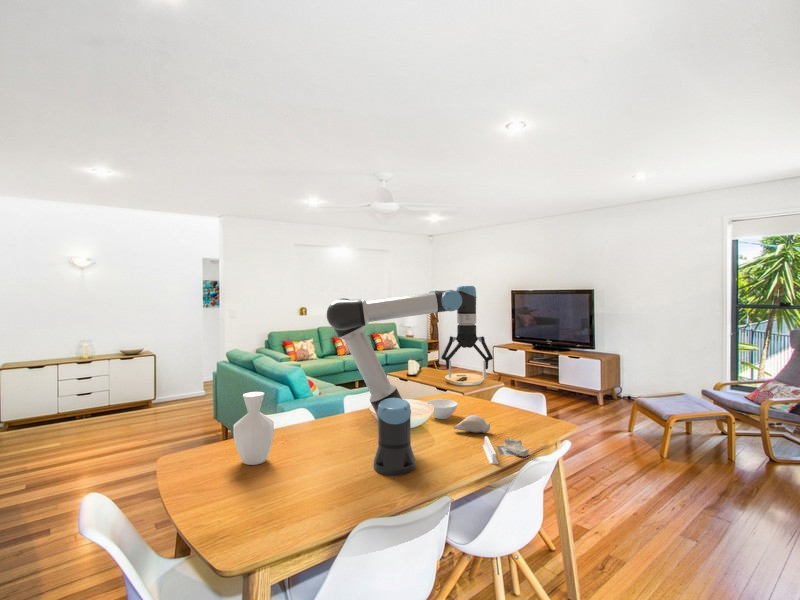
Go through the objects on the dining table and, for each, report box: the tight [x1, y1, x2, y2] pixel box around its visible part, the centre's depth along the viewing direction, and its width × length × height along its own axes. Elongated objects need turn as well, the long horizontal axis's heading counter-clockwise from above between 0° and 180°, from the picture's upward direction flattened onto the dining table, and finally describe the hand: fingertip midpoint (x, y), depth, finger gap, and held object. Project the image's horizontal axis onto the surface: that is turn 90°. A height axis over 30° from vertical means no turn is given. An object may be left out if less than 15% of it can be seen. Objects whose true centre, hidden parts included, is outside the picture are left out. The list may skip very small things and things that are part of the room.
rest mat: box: [496, 445, 520, 457], centre depth 154 cm, size 12×12×1 cm
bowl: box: [425, 398, 459, 420], centre depth 201 cm, size 16×16×7 cm
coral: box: [502, 437, 530, 458], centre depth 153 cm, size 6×10×4 cm, turn 49°
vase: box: [232, 391, 275, 466], centre depth 148 cm, size 14×14×25 cm
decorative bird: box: [453, 414, 491, 434], centre depth 177 cm, size 9×16×8 cm, turn 79°
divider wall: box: [482, 436, 499, 465], centre depth 152 cm, size 3×18×4 cm, turn 177°
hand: (466, 377), depth 158 cm, fingers open, 13 cm apart
